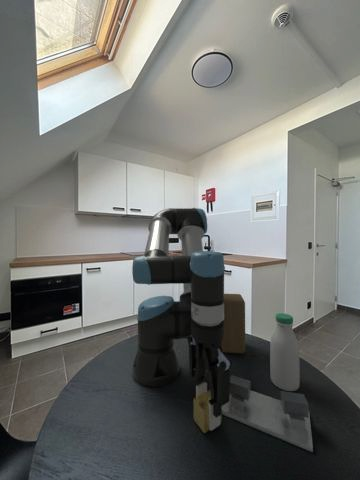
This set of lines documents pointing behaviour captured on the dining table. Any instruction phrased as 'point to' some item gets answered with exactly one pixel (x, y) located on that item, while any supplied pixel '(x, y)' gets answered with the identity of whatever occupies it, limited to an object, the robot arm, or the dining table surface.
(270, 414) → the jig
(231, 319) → the wooden block
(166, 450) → the dining table surface
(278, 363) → the milk bottle
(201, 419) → the gold cube-like block
